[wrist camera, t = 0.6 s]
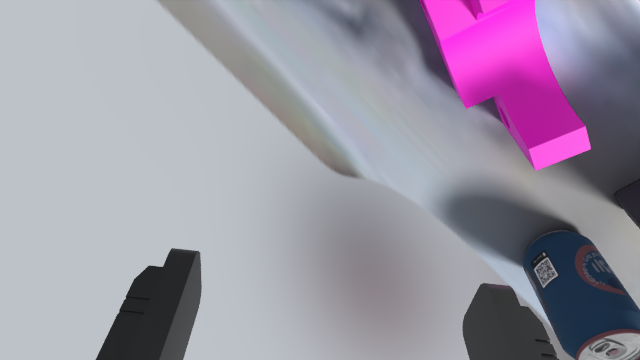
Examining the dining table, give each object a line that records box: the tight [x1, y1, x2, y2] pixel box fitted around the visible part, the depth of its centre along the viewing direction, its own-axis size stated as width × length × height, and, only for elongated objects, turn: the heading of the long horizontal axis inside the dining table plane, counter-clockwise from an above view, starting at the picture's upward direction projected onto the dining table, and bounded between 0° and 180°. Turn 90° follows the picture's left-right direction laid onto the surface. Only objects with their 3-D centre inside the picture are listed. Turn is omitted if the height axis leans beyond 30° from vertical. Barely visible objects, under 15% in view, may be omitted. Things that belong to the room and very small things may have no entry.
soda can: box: [523, 230, 640, 360], centre depth 41 cm, size 7×7×12 cm
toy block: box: [419, 0, 591, 171], centre depth 31 cm, size 15×6×8 cm, turn 29°
